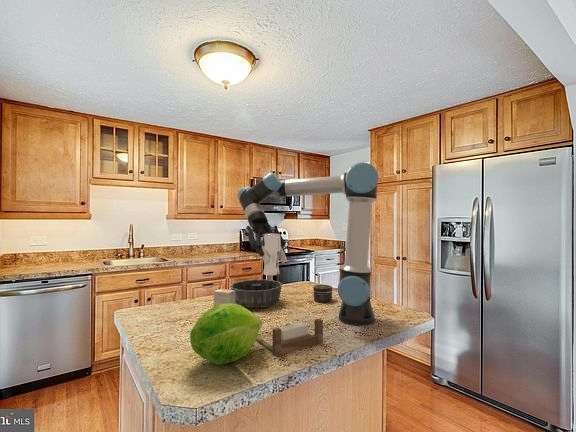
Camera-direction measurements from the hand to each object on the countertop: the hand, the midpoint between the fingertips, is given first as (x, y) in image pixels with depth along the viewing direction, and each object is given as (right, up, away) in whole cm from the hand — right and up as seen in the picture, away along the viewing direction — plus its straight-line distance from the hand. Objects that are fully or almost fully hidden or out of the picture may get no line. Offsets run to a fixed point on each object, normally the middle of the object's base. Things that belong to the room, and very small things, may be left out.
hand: (276, 261), depth 115 cm
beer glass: (-2, -5, +3) cm, 6 cm away
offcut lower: (+6, -26, -9) cm, 29 cm away
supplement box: (-23, -28, +18) cm, 40 cm away
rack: (+3, -28, -4) cm, 28 cm away
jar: (+23, -28, +51) cm, 62 cm away
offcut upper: (+6, -23, -9) cm, 26 cm away
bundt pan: (-12, -28, +45) cm, 55 cm away
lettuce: (-14, -28, -18) cm, 36 cm away
